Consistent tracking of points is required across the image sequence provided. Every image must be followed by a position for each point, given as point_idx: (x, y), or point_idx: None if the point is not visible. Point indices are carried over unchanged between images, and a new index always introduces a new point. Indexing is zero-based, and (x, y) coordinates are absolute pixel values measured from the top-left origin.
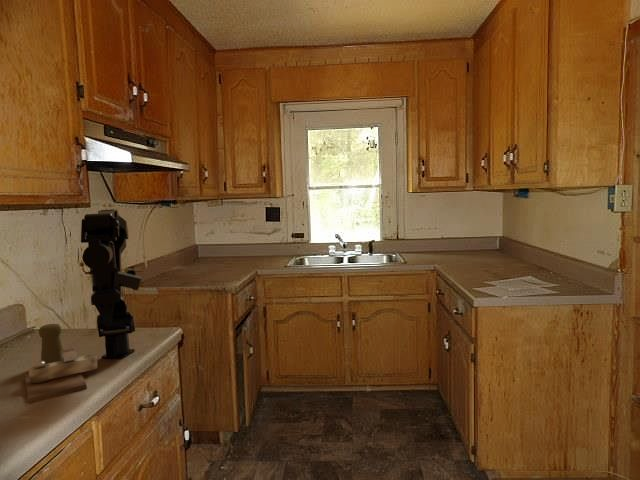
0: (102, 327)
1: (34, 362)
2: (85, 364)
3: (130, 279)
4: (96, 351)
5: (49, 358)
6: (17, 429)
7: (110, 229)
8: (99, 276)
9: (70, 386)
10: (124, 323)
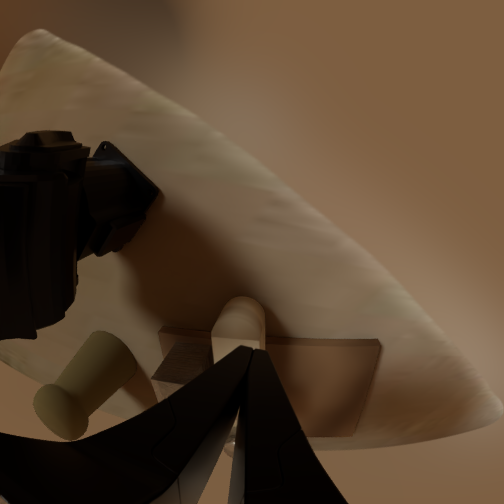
0: (74, 299)
1: (232, 456)
2: (261, 346)
3: None
4: None
5: (121, 383)
6: (448, 428)
7: None
8: None
9: (358, 377)
10: (74, 188)
